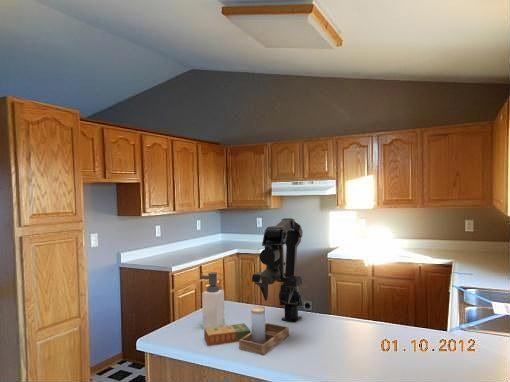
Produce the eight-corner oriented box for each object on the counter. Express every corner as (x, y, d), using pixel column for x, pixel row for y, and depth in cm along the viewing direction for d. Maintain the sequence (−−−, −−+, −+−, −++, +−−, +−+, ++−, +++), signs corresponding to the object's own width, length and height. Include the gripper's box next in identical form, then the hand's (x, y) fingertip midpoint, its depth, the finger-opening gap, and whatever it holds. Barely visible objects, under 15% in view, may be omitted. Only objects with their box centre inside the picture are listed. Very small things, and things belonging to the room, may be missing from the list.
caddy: (266, 330, 146) (266, 322, 146) (289, 335, 140) (288, 327, 140) (239, 349, 129) (238, 340, 129) (264, 355, 124) (263, 345, 124)
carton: (204, 338, 140) (203, 327, 140) (244, 333, 145) (244, 322, 145) (208, 347, 132) (208, 335, 132) (251, 340, 137) (251, 329, 137)
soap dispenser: (206, 322, 156) (204, 270, 156) (224, 325, 153) (223, 271, 153) (197, 328, 150) (196, 273, 150) (217, 330, 147) (215, 275, 147)
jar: (260, 340, 135) (259, 305, 135) (268, 345, 130) (267, 308, 130) (249, 344, 132) (248, 308, 132) (257, 348, 128) (256, 311, 128)
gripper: (243, 261, 137) (244, 304, 137) (288, 266, 127) (289, 311, 127) (258, 257, 147) (259, 297, 146) (302, 260, 137) (303, 303, 137)
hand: (276, 302), depth 139 cm, fingers open, 9 cm apart
